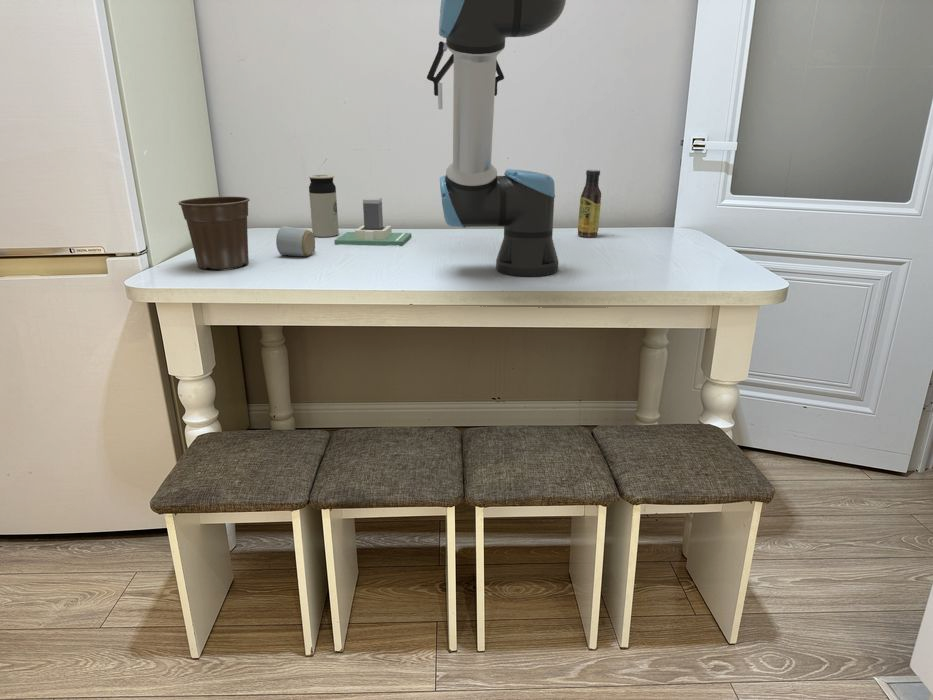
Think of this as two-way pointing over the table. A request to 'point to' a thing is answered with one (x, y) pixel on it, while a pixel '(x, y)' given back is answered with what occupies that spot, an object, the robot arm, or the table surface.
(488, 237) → the table surface
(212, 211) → the plant pot
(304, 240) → the ceramic mug
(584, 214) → the sauce bottle
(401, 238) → the board
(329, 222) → the travel mug
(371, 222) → the plug
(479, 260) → the table surface
